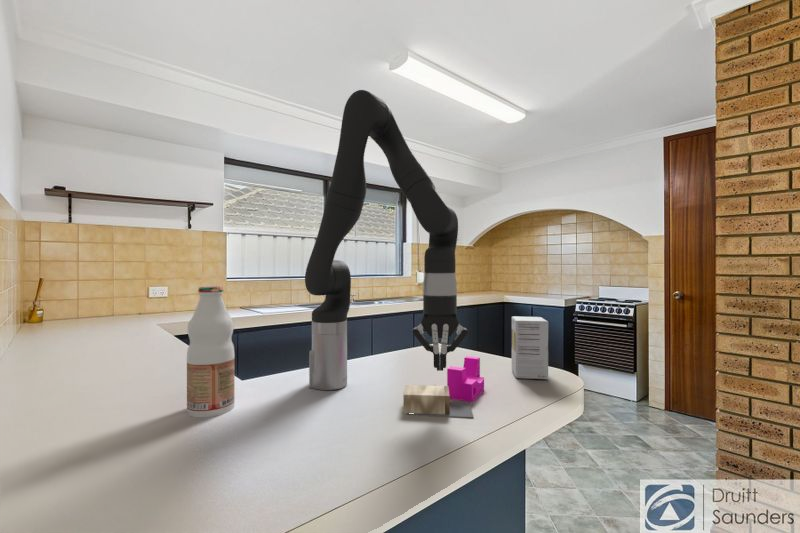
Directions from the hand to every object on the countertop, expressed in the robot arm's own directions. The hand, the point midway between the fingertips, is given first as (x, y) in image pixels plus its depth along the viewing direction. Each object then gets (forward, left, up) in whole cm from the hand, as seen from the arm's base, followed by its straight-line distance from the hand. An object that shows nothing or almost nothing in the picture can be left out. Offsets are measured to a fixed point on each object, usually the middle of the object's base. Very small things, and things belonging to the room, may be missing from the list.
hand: (440, 369), depth 88 cm
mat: (-1, 0, -9) cm, 9 cm away
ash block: (+2, 0, -7) cm, 7 cm away
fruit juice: (-50, -7, -9) cm, 51 cm away
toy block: (+8, +14, -10) cm, 18 cm away
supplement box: (+27, +31, -9) cm, 42 cm away
